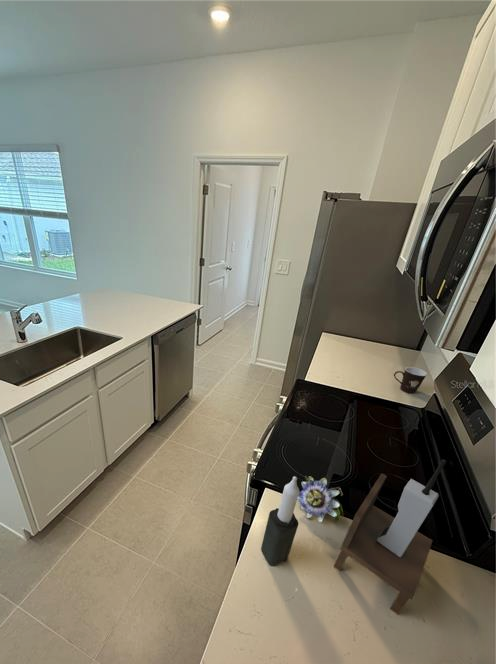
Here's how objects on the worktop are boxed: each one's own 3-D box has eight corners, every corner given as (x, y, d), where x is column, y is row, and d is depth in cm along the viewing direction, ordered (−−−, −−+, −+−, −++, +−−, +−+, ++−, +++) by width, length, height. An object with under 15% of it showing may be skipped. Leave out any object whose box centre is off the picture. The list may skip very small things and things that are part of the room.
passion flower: (304, 529, 83) (284, 498, 80) (315, 497, 91) (297, 468, 87) (345, 535, 75) (325, 501, 72) (354, 499, 83) (335, 467, 79)
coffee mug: (420, 390, 145) (428, 371, 140) (415, 397, 139) (424, 377, 134) (393, 381, 151) (400, 363, 146) (388, 387, 145) (395, 368, 140)
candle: (270, 567, 69) (291, 490, 56) (259, 547, 73) (276, 470, 60) (289, 560, 70) (314, 483, 58) (277, 540, 74) (298, 464, 62)
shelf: (358, 522, 80) (381, 473, 71) (418, 561, 72) (453, 510, 63) (332, 566, 70) (355, 514, 61) (398, 616, 61) (436, 565, 53)
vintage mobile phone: (382, 531, 69) (428, 446, 57) (406, 547, 66) (460, 461, 54) (375, 541, 67) (421, 455, 55) (400, 558, 64) (454, 471, 51)
